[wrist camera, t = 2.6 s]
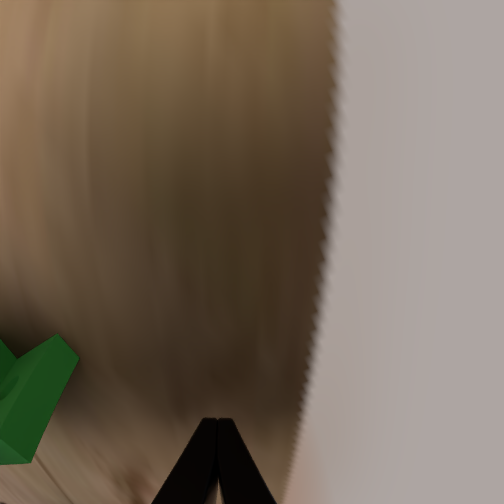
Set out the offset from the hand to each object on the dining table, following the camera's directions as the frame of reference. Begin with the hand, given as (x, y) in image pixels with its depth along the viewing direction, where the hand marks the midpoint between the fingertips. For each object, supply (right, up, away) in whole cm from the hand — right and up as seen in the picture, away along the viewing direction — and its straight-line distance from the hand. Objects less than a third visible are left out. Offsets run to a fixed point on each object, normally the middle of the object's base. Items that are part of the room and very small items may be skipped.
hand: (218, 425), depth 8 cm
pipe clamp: (-10, 0, +1) cm, 10 cm away
